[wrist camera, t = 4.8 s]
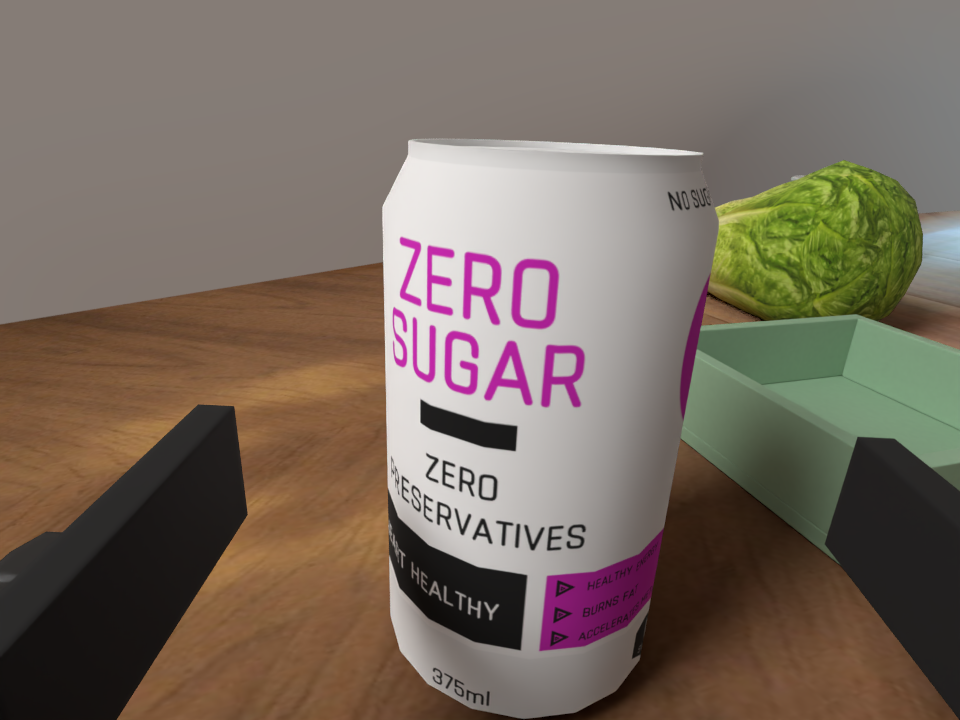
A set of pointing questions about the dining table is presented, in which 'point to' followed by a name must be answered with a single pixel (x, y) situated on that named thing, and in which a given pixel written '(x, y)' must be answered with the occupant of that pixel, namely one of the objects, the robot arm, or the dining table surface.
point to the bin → (818, 407)
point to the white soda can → (536, 407)
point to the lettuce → (819, 247)
